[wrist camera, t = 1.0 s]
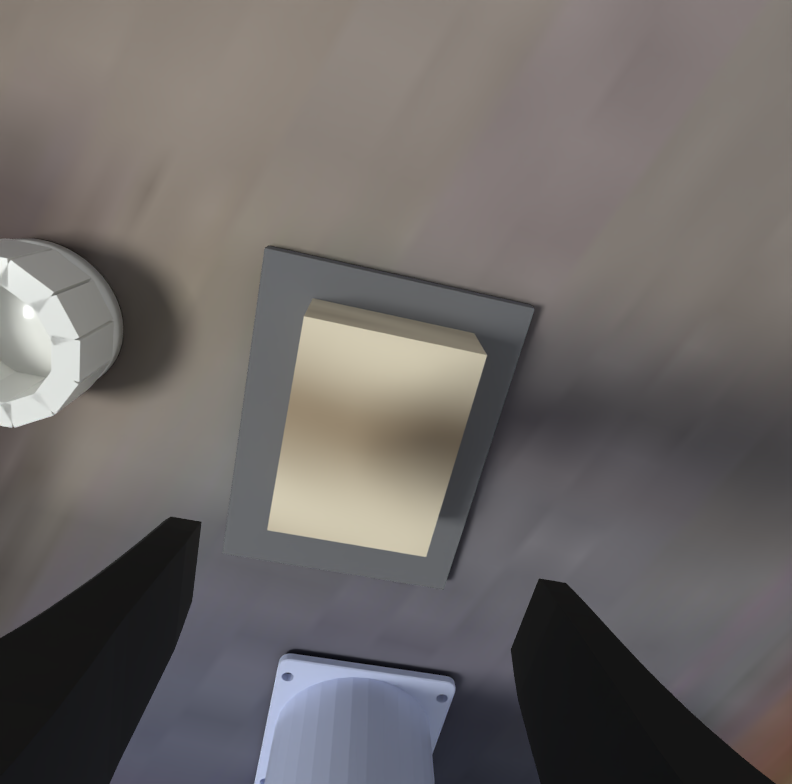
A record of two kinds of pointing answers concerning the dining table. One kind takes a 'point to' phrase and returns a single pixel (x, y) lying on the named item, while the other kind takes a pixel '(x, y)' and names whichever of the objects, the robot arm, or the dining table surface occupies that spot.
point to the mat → (271, 387)
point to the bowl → (51, 329)
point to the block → (373, 427)
